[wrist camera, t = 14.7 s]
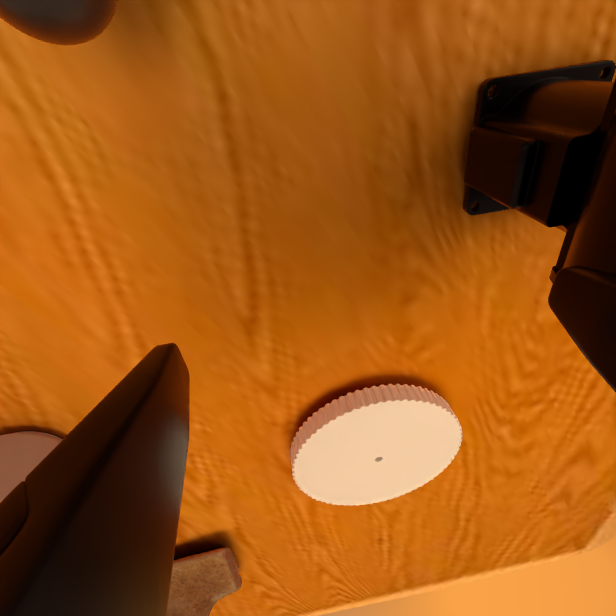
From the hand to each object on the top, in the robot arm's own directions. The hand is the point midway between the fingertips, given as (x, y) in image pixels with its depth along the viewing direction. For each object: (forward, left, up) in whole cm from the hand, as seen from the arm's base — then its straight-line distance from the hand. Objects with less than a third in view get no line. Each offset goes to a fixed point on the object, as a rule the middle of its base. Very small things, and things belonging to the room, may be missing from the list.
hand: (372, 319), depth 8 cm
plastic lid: (-3, +22, -12) cm, 25 cm away
